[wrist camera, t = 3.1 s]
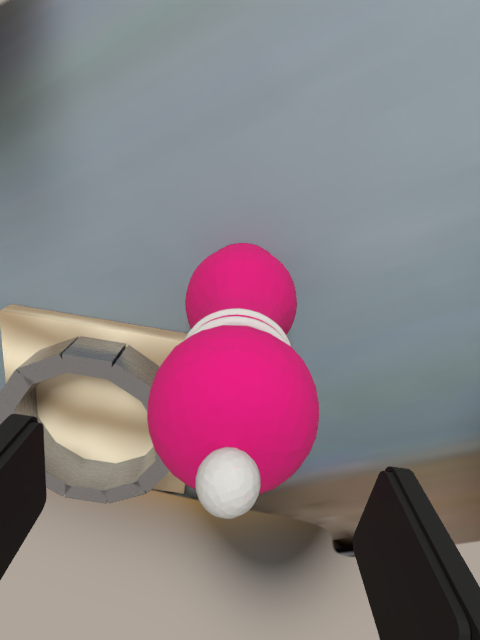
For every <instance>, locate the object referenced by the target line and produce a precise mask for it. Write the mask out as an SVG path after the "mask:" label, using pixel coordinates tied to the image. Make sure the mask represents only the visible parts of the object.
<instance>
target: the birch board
mask: <svg viewBox="0 0 480 640" xmlns="http://www.w3.org/2000/svg"><path fill="white" fill-rule="evenodd" d="M0 326H1V336H2V347H3V357H4V368H5V378H6V383H7V381H8V380H9V378H10V377H11V375H12V374H13V372H14V371H15V370H16V369H17V368H18V367H19V366H21V365H22V364H23V363H24V362H25V361H27V360H28V359H29V358H30V357H31V356H33V355H34V354H35V353H36V352H37V351H39V350H40V349H43V348H46V347H49V346H52V345H55V344H57V343H60V342H63V341H66V340H69V339H72V338H74V337H77V336H78V337H79V338H80V337H81V336H84V337H90V338H96V339H102V340H108V341H114V342H120V343H126V347H127V346H128V345H130V346H131V347H133V348H134V349H136V350H137V351H139V352H140V353H141V354H143V355H144V356H146V357H147V358H149V359H150V360H151V361H153V362H154V363H156V364H157V365H159V366H161V365H162V363H163V362H164V360H165V359H166V358H167V356H168V355H169V354H170V353H171V351H172V350H173V349H174V348H175V347H176V346H177V345H178V344H180V343H181V342H183V341H184V340H185V338H186V336H187V333H181V332H175V331H169V330H163V329H157V328H151V327H145V326H139V325H133V324H127V323H121V322H115V321H109V320H103V319H97V318H91V317H85V316H79V315H73V314H67V313H61V312H55V311H49V310H43V309H37V308H31V307H25V306H19V305H13V304H11V305H9V306H7V307H5V308H4V309H2V310H0ZM126 347H125V348H126ZM36 394H37V412H38V417H39V419H40V420H41V422H42V423H43V424H44V426H45V427H46V429H47V430H48V432H49V433H50V434H51V436H52V437H53V439H54V440H55V442H57V443H59V444H60V445H62V446H64V447H65V448H67V449H69V450H70V451H72V452H74V453H76V454H77V455H79V456H81V457H82V458H84V459H90V460H97V461H104V462H110V463H119V462H123V461H127V460H130V459H134V458H137V457H141V456H144V455H146V454H147V453H148V452H149V451H150V449H151V448H152V447H153V443H152V440H151V437H150V434H149V429H148V421H147V411H146V409H145V407H144V406H143V404H142V402H141V401H140V400H138V399H136V398H135V397H133V396H132V395H130V394H129V393H127V392H126V391H124V390H123V389H121V388H120V387H118V386H117V385H115V384H114V383H112V382H111V381H109V380H108V379H102V378H96V377H90V376H84V375H77V374H71V373H64V374H61V375H58V376H55V377H52V378H49V379H46V380H43V381H41V382H40V383H39V384H38V386H37V387H36ZM185 485H186V484H185V483H183V482H182V481H181V480H179V479H178V478H177V477H175V476H174V475H173V474H172V473H171V472H170V471H169V472H168V473H167V474H166V475H165V476H164V477H163V478H162V479H161V480H160V481H159V482H158V483H157V484H156V485H155V486H154V487H153V488H152V489H156V490H163V491H169V492H176V493H183V494H184V490H185Z"/></svg>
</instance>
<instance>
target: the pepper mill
mask: <svg viewBox="0 0 480 640" xmlns="http://www.w3.org/2000/svg"><path fill="white" fill-rule="evenodd" d="M185 303H186V313H187V318H188V322H189V325H190V327H191V330H190V332H189V333H188V334H187V336H186V338H185V340H184V341H183V342H181V343H180V344H178V345H177V346H176V347H175V348H174V349H173V350H172V351H171V353H170V354H169V355H168V356H167V358H166V359H165V360H164V362H163V363H162V365H161V366H160V368H159V369H158V371H157V372H156V375H155V377H154V380H153V383H152V386H151V389H150V393H149V399H148V411H147V421H148V429H149V434H150V437H151V440H152V443H153V446H154V449H155V451H156V453H157V454H158V456H159V457H160V459H161V460H162V462H163V463H164V465H165V466H166V467H167V468H168V469H169V471H170V472H171V473H172V474H173V475H174V476H175V477H177V478H178V479H179V480H181V481H182V482H183V483H185V484H186V485H188V486H190V487H192V488H194V489H196V492H197V495H198V498H199V501H200V503H201V504H202V505H203V507H204V508H205V509H206V510H207V511H208V512H209V513H211V514H212V515H214V516H216V517H219V518H226V519H232V518H235V517H237V516H240V515H242V514H244V513H246V512H247V511H249V510H250V509H251V507H252V506H253V505H254V504H255V502H256V500H257V497H258V495H259V494H261V493H264V492H266V491H269V490H272V489H274V488H276V487H277V486H278V485H280V484H281V483H283V482H284V481H285V480H287V479H288V478H289V477H291V476H292V475H293V474H294V473H295V472H296V471H297V470H298V469H299V467H300V466H301V464H302V463H303V462H304V460H305V459H306V457H307V456H308V454H309V453H310V451H311V448H312V446H313V443H314V441H315V439H316V434H317V430H318V421H319V402H318V397H317V392H316V386H315V384H314V381H313V379H312V376H311V374H310V372H309V370H308V368H307V366H306V365H305V363H304V361H303V360H302V358H301V357H300V356H299V355H298V354H297V353H296V352H295V351H294V350H293V348H292V347H291V344H290V342H289V340H288V337H287V336H286V335H287V333H288V331H289V330H290V328H291V326H292V324H293V321H294V318H295V314H296V307H297V301H296V291H295V287H294V283H293V280H292V278H291V276H290V274H289V272H288V271H287V270H286V268H285V267H284V266H283V264H282V263H281V262H280V261H278V260H277V259H276V258H275V257H273V256H272V255H271V254H270V253H269V252H267V251H266V250H264V249H263V248H261V247H259V246H256V245H253V244H248V243H238V244H232V245H228V246H226V247H224V248H222V249H220V250H219V251H217V252H216V253H213V254H212V255H210V256H209V257H207V258H206V259H205V260H204V261H203V262H202V263H201V264H200V265H199V266H198V267H197V269H196V270H195V271H194V273H193V275H192V277H191V279H190V282H189V285H188V289H187V293H186V300H185Z"/></svg>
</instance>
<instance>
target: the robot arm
mask: <svg viewBox="0 0 480 640" xmlns="http://www.w3.org/2000/svg"><path fill="white" fill-rule="evenodd" d="M45 502H46V473H45V450H44V427H43V424H42V423H38V419H37V418H36V417H34V416H28V415H21V414H11V415H9V416H8V417H7V418H6V419H5V420H4V421H3V422H2V423H1V424H0V580H1V578H2V576H3V575H4V573H5V571H6V570H7V568H8V566H9V565H10V563H11V561H12V560H13V558H14V557H15V555H16V553H17V552H18V550H19V548H20V547H21V545H22V543H23V542H24V540H25V538H26V537H27V535H28V533H29V532H30V530H31V528H32V526H33V525H34V523H35V522H36V520H37V518H38V517H39V515H40V513H41V512H42V510H43V507H44V505H45ZM353 550H354V553H355V557H356V560H357V563H358V567H359V570H360V573H361V577H362V580H363V583H364V586H365V590H366V593H367V596H368V600H369V604H370V607H371V610H372V614H373V617H374V620H375V624H376V627H377V630H378V634H379V637H380V640H480V587H479V586H478V584H477V582H476V580H475V579H474V577H473V575H472V573H471V572H470V570H469V568H468V566H467V565H466V563H465V561H464V559H463V558H462V556H461V554H460V553H459V551H458V549H457V548H456V546H455V544H454V542H453V540H452V539H451V537H450V535H449V534H448V532H447V530H446V528H445V527H444V525H443V523H442V522H441V520H440V518H439V516H438V515H437V513H436V511H435V509H434V508H433V506H432V504H431V503H430V501H429V499H428V497H427V496H426V494H425V492H424V491H423V489H422V487H421V485H420V484H419V482H418V480H417V478H416V477H415V475H414V473H413V472H412V471H411V470H409V469H404V468H397V467H387V468H386V470H385V471H381V472H380V473H379V475H378V478H377V480H376V483H375V485H374V488H373V490H372V492H371V495H370V497H369V500H368V502H367V504H366V507H365V509H364V512H363V514H362V516H361V519H360V521H359V524H358V526H357V528H356V531H355V533H354V536H353Z"/></svg>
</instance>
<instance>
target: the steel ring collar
mask: <svg viewBox="0 0 480 640" xmlns="http://www.w3.org/2000/svg"><path fill="white" fill-rule="evenodd" d="M125 347H126V343H120V342H114V341H108V340H102V339H96V338H90V337H84V336H81V337H80V338H79V337H78V336H77V337H74V338H72V339H69V340H66V341H63V342H60V343H57V344H55V345H52V346H49V347H46V348H43V349H40V350H39V351H37V352H36V353H35V354H34V355H33V356H31V357H30V358H29V359H28V360H27V361H25V362H24V363H23V364H22V365H21V366H19V367H18V368H17V369H16V370H15V371H14V372H13V374H12V375H11V377H10V378H9V380H8V381H7V383H6V384H5V386H4V387H3V389H2V390H1V392H0V424H1V423H2V422H3V421H4V420H5V419H6V418H7V417H8V416H9V415H11V414H21V415H28V416H34V417H36V418H37V419H38V423H42V422H41V420H40V419H39V417H38V412H37V394H36V387H37V386H38V384H39V383H40V382H41V381H43V380H46V379H49V378H52V377H55V376H58V375H61V374H64V373H71V374H77V375H84V376H90V377H96V378H102V379H108V380H109V381H111V382H112V383H114V384H115V385H117V386H118V387H120V388H121V389H123V390H124V391H126V392H127V393H129V394H130V395H132V396H133V397H135V398H136V399H138V400H140V401H141V402H142V404H143V406H144V407H145V409H146V411H148V399H149V393H150V389H151V386H152V383H153V380H154V377H155V375H156V372H157V371H158V369H159V368H160V366H159V365H157V364H156V363H154V362H153V361H151V360H150V359H149V358H147V357H146V356H144V355H143V354H141V353H140V352H139V351H137V350H136V349H134V348H133V347H131V346H130V345H128V346H127V347H126V348H125ZM42 424H43V423H42ZM43 427H44V450H45V473H46V488H48V489H50V490H52V491H54V492H55V493H57V494H59V495H61V496H64V494H65V497H66V498H72V499H79V500H86V501H93V502H100V503H107V501H108V502H109V503H113V502H116V501H120V500H124V499H128V498H131V497H135V496H139V495H143V494H146V492H149V491H150V490H151V489H152V488H153V487H154V486H155V485H156V484H157V483H158V482H159V481H160V480H161V479H162V478H163V477H164V476H165V475H166V474H167V473H168V472H169V469H168V468H167V467H166V466H165V465H164V463H163V462H162V460H161V459H160V457H159V456H158V454H157V453H156V451H155V449H154V446H153V447H152V448H151V449H150V451H149V452H148V453H147V454H146V455H144V456H141V457H137V458H134V459H130V460H127V461H123V462H119V463H110V462H104V461H97V460H90V459H84V458H82V457H81V456H79V455H77V454H76V453H74V452H72V451H70V450H69V449H67V448H65V447H64V446H62V445H60V444H59V443H57V442H55V440H54V439H53V437H52V436H51V434H50V433H49V432H48V430H47V429H46V427H45V426H44V424H43Z"/></svg>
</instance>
